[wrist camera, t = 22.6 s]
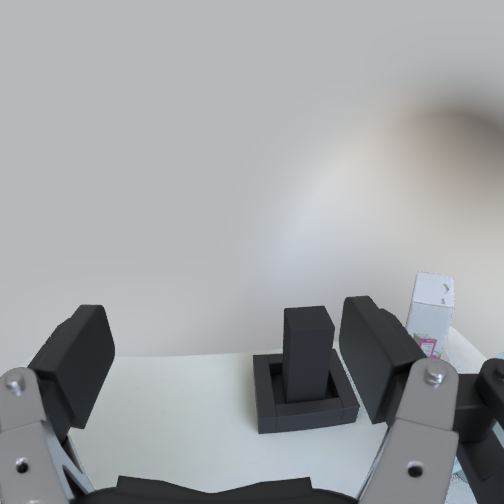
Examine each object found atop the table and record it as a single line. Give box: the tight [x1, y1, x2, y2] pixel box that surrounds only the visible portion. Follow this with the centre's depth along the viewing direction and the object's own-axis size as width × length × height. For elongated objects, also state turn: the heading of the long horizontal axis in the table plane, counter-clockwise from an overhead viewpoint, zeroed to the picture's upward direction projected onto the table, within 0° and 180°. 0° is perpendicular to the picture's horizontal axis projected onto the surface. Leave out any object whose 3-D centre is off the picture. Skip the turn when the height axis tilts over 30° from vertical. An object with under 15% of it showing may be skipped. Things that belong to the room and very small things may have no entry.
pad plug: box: [282, 306, 335, 404], centre depth 30 cm, size 4×4×10 cm
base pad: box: [253, 349, 360, 434], centre depth 32 cm, size 10×10×3 cm
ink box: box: [405, 272, 455, 359], centre depth 32 cm, size 9×5×12 cm, turn 149°
